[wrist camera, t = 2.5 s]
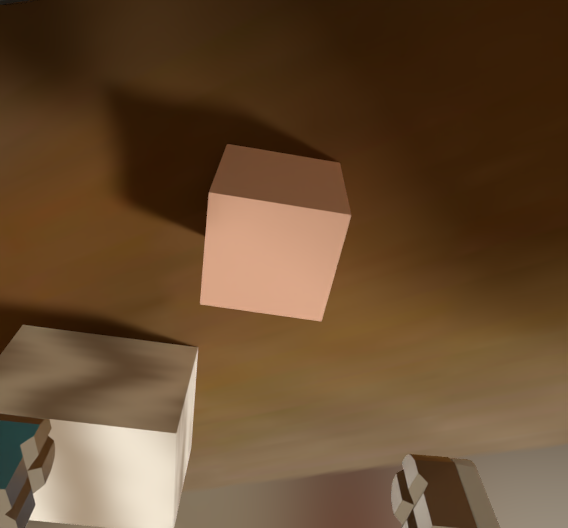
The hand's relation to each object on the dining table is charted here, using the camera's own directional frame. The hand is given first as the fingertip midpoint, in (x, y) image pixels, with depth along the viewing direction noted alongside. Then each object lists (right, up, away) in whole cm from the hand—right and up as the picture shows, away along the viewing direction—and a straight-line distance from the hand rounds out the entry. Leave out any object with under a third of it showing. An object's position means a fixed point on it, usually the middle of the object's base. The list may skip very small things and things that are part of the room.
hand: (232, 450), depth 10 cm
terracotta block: (+1, +7, +11) cm, 13 cm away
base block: (-10, -4, +19) cm, 21 cm away
